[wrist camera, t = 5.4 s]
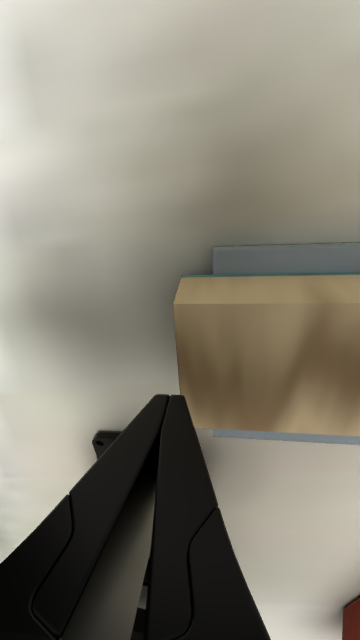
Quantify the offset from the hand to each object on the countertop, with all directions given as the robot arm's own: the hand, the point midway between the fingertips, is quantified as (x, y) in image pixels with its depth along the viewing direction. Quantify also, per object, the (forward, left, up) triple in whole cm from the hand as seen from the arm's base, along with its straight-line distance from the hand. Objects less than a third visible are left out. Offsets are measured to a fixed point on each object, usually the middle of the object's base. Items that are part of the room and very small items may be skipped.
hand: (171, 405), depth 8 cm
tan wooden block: (-1, 0, -4) cm, 4 cm away
